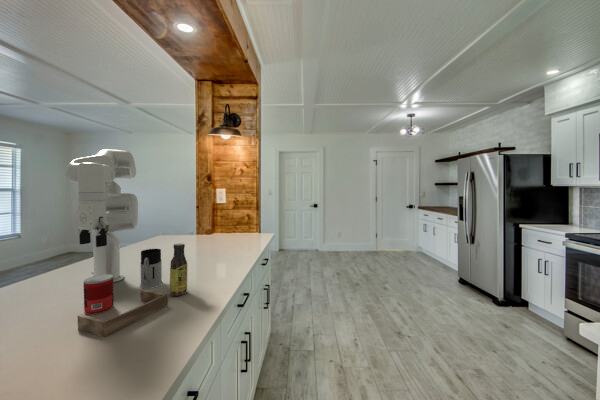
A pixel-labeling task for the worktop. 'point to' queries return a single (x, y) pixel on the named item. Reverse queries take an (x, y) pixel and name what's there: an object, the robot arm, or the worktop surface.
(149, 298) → the wooden corner frame
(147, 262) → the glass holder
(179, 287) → the sauce bottle
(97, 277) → the canned food
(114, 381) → the worktop surface
